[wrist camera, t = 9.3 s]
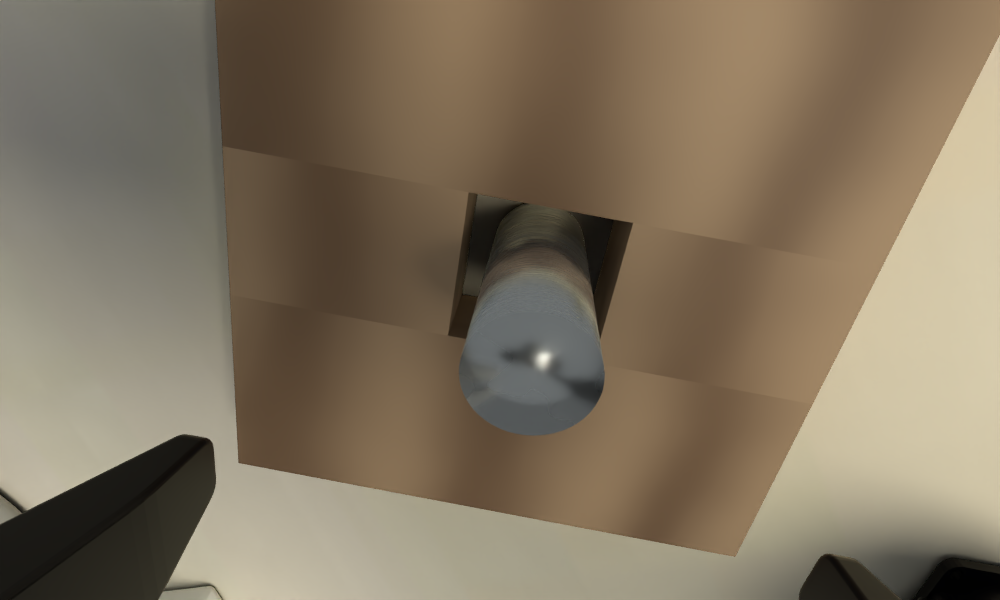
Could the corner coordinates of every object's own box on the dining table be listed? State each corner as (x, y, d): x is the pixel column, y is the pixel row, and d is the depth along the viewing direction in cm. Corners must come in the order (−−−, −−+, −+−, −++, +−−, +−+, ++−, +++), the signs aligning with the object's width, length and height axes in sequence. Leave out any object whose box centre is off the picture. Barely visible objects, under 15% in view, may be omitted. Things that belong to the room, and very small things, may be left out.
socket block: (938, -7, 15) (1024, -16, 12) (713, 494, 23) (735, 556, 20) (268, -130, 15) (206, -166, 12) (275, 411, 23) (238, 462, 20)
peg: (593, 211, 18) (621, 327, 11) (573, 293, 19) (585, 447, 12) (502, 193, 18) (469, 299, 11) (488, 277, 19) (449, 421, 12)
